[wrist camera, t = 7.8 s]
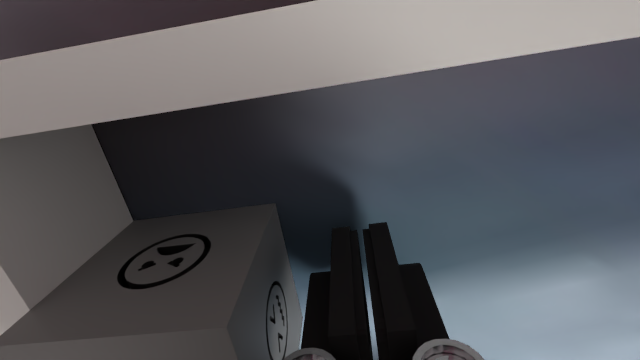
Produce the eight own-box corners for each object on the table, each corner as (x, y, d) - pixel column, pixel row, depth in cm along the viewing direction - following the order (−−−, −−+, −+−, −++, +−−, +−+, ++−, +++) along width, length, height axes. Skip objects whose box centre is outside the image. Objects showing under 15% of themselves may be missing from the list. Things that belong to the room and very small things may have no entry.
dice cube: (134, 220, 11) (-13, 347, 6) (275, 203, 10) (226, 328, 6) (180, 328, 13) (93, 485, 8) (302, 317, 12) (281, 480, 8)
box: (545, -20, 8) (737, -80, 4) (506, 392, 13) (570, 525, 10) (28, 74, 9) (-179, 93, 5) (190, 409, 15) (142, 529, 11)
